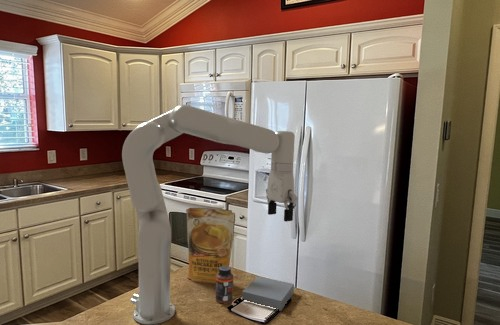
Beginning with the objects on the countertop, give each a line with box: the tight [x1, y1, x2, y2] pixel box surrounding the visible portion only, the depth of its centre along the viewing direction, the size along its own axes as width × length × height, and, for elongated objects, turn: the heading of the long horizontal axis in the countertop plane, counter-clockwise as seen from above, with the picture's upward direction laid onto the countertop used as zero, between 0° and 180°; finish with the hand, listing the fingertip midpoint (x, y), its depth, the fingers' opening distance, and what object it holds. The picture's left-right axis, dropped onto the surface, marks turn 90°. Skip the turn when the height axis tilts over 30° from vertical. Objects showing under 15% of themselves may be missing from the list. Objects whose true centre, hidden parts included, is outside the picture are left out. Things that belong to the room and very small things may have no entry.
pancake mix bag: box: [185, 207, 236, 285], centre depth 130 cm, size 7×19×28 cm, turn 80°
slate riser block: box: [241, 275, 295, 312], centre depth 119 cm, size 14×14×4 cm
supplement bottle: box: [215, 266, 234, 304], centre depth 116 cm, size 6×6×11 cm
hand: (279, 217), depth 115 cm, fingers open, 9 cm apart
